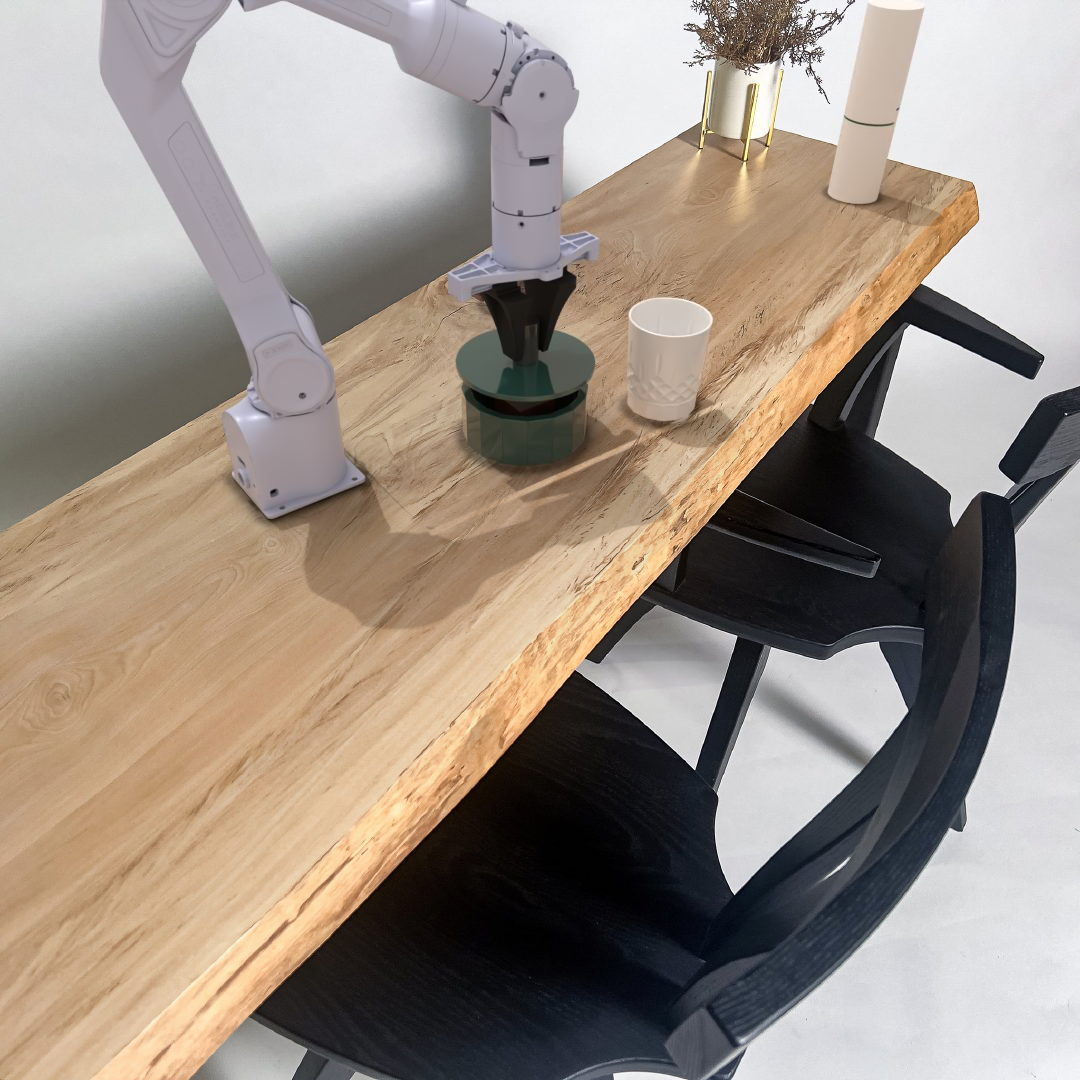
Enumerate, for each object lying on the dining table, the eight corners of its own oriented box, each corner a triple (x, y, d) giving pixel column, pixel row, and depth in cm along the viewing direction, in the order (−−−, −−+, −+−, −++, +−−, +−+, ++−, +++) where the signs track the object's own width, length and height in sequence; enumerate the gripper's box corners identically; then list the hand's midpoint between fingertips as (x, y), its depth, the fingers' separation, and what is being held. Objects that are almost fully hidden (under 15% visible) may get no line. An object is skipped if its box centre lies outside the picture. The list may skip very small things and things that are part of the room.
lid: (509, 424, 82) (509, 371, 78) (429, 361, 89) (426, 311, 86) (623, 378, 88) (627, 327, 84) (538, 323, 95) (539, 275, 92)
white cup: (642, 378, 101) (651, 290, 95) (712, 400, 98) (726, 310, 92) (607, 413, 96) (614, 322, 90) (679, 437, 93) (692, 344, 87)
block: (520, 448, 91) (520, 412, 88) (495, 428, 93) (494, 392, 90) (553, 434, 93) (554, 398, 90) (528, 415, 95) (529, 379, 92)
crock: (510, 485, 87) (510, 435, 83) (441, 426, 94) (438, 378, 90) (609, 442, 92) (613, 393, 89) (536, 389, 99) (537, 342, 96)
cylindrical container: (883, 192, 143) (931, 2, 127) (868, 207, 138) (916, 12, 122) (836, 182, 146) (877, -5, 129) (820, 196, 141) (860, 4, 125)
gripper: (480, 241, 73) (484, 396, 81) (626, 199, 79) (615, 346, 88) (430, 210, 77) (439, 361, 86) (572, 173, 84) (567, 316, 93)
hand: (525, 351), depth 87 cm, fingers closed on lid, 2 cm apart
